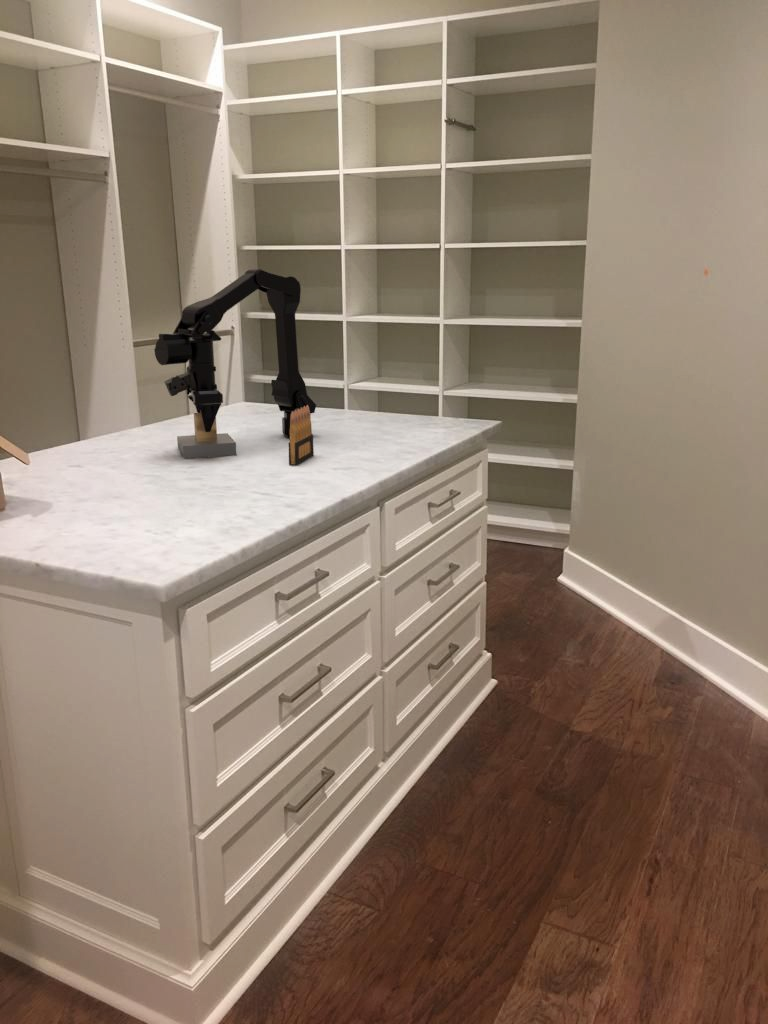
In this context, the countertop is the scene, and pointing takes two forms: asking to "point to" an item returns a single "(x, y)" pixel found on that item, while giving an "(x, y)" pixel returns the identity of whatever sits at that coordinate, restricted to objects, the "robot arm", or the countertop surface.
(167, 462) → the countertop surface
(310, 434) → the ammunition clip
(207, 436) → the wooden block
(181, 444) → the slate base
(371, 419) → the countertop surface
